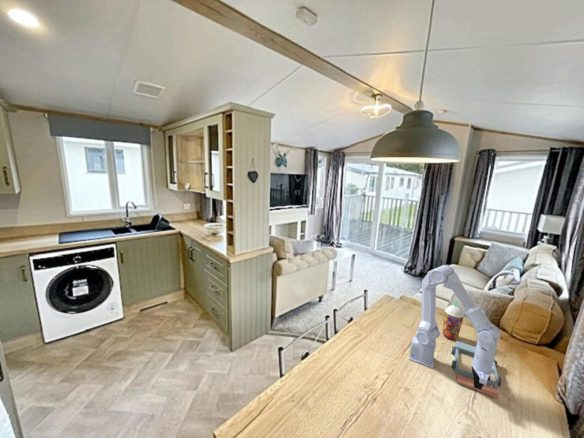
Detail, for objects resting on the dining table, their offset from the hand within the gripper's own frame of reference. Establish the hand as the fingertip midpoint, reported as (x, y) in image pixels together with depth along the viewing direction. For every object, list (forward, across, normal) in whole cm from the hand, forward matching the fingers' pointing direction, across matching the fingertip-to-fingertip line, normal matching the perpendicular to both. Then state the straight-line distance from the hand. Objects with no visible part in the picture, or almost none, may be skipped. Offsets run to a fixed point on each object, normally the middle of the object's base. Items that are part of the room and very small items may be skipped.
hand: (477, 387), depth 99 cm
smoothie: (+2, +34, +9) cm, 35 cm away
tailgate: (+2, +5, 0) cm, 5 cm away
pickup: (+2, +15, 0) cm, 15 cm away
